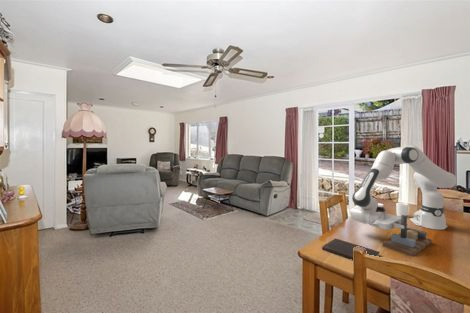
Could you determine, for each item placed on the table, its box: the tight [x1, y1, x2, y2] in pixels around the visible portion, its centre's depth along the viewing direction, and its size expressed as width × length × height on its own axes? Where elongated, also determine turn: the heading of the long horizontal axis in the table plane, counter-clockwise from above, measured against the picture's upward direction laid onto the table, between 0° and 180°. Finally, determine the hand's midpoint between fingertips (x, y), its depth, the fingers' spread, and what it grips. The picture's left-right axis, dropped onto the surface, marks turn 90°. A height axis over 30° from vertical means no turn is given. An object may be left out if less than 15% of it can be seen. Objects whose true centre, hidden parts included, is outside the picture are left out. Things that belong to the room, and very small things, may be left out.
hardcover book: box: [321, 238, 381, 261], centre depth 121 cm, size 16×23×2 cm
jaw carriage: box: [390, 215, 416, 248], centre depth 126 cm, size 4×10×16 cm, turn 35°
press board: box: [382, 226, 432, 257], centre depth 130 cm, size 28×14×6 cm, turn 125°
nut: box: [407, 230, 418, 240], centre depth 134 cm, size 5×5×4 cm
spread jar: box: [376, 202, 387, 213], centre depth 174 cm, size 12×11×12 cm
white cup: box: [395, 201, 409, 217], centre depth 183 cm, size 8×8×10 cm
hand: (405, 226), depth 125 cm, fingers closed on jaw carriage, 3 cm apart
